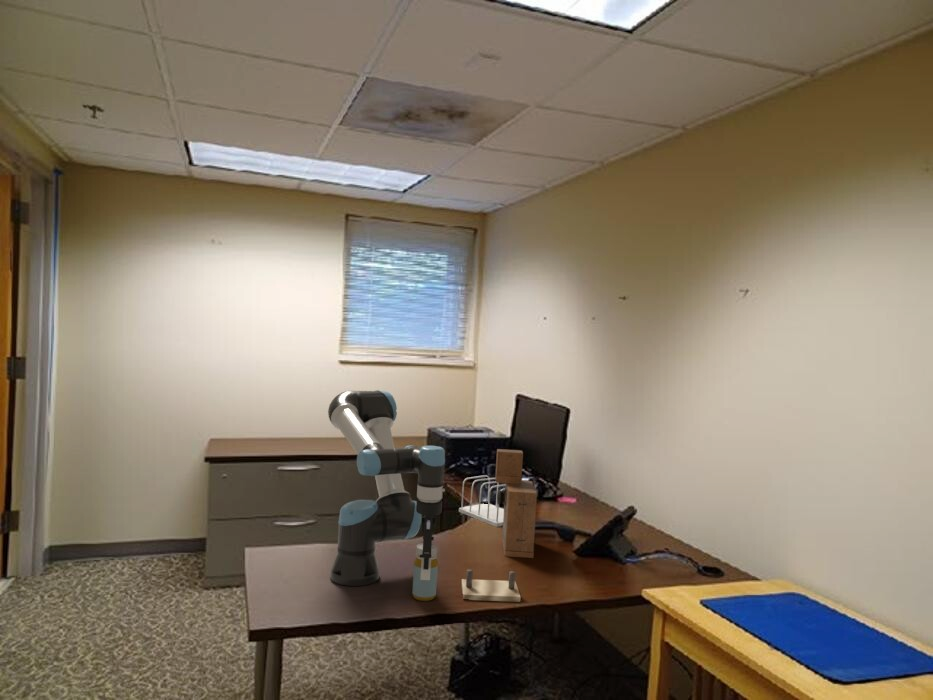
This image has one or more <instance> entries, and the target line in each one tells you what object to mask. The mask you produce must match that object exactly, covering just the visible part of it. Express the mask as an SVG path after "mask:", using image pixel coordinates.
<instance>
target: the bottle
mask: <svg viewBox="0 0 933 700" xmlns="http://www.w3.org/2000/svg"><path fill="white" fill-rule="evenodd" d="M422 553H423V542H422V543H418V544H416V548H415V558H414V561H413V576H412V577H413V578H412V592H411V593H412V597H413V598H414V599H415V600H417V601H420V602H429V601H432V600H434V599H435V598H436V596H437V584H438V568H439V567H438V565H439V563H438V561H439V560H438V556H437V555H438V546H437V545H436V544H435V543H434V544H433V543H432V546H431V555H432V556H431V570H430V580H420V579H421V561H422V558H420V555H422Z"/></svg>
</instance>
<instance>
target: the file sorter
mask: <svg viewBox="0 0 933 700" xmlns="http://www.w3.org/2000/svg"><path fill="white" fill-rule="evenodd" d="M486 477H487V478H486ZM471 479H475V480H474V481H473V482H472V485H471V491H470V500H469V501H470V502H469V504H470V505H467V506H463V505H464V494H465V493H464V492H465V491H464V490H465V483H466V481H468V480H471ZM491 480H495V477H490V475H488V474H487V475H486V474H485V475H478V476H477V475H476V476H471V477H466V478H464V480H463V481H462V488H461V505H460V506H461V507H459V508H458V512H459V513H461V514H463V515H466V516H468V517H472V518H474V519H476V520H478V521H480V522H483V523H486V524H489V525H491V526H493V527H496V528H499V527H503V518H504V507H500V504H497V493H498V490H499V488H500V487H503V488H501V489H500V490H501V491H502V492H504V490H505V484H506V483H503V484H500V483H497V482H496V480H495V481H491ZM480 481H481V482H482V481H487V482H483V483H482V484H481V485H480V489H479V497H478V498H479V500H478V504H472V503H473V494H474V485H475V483H476V482H480ZM491 484H496V485H492V486H491ZM484 485H488V487H487V489H488V490H487V500H486V501H488V504H484V503H481V501H482V493H483V492H482V491H483V487H484ZM494 488H496V496H495V498H496V499H495V504H492V503H491V502H490V501H491V491H492V490H493V489H494Z"/></svg>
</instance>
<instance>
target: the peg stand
mask: <svg viewBox="0 0 933 700" xmlns="http://www.w3.org/2000/svg"><path fill="white" fill-rule="evenodd" d="M508 573H509V574H508V575H509V576H508V580H499V579H497V580H496V579H494V580H493V579H476V578H475V579H473V576H474V570H473V569H471V568H469V569H466V578H462V579H461V581H460V583H461V593H462V594H463V595H462V600H463V599H469V600H468V601H491V602H493V601H494V602H516V603H518V602H519V603H521V599H522V598H521V594H520V591H519V587H518V585H517V582H516V572H515V571H513V570H510V571H509V572H508Z"/></svg>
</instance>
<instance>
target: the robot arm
mask: <svg viewBox="0 0 933 700" xmlns="http://www.w3.org/2000/svg"><path fill="white" fill-rule="evenodd" d="M396 402H397V401H396V400H395V397H394V396H393V395H392V394H391V393H390V392H388V391H385V390H347V391H343V392H341V393H339V394H337V395H336V396H334V397H333V399H332V400H331V402H330V404H329V407H328V410H327V412H328V413H327V414H328V419H329V421H330V423H331V424H332V426H333V428H335V429H337V430H339V431H341V434H342V435H343V436H344V438H345V439H346V441H348V444H349V445H350V446H351V447H352V448H353V450H354V452H355V454H356V455H357V456H356V467H357V471H358V473H359V474H360V476H361V475H362V476H371V477H375V482H376V488H377V492H378V498H377V499H376V500H374V499H356V500H351V501H349V502H347V503H345V504H344V505H342V507H341V508H340V510H339V517H338V521H337V522H338V530H337V531H338V534H337V535H338V536H337V551H336V555H335V557H334V561H333V562H332V566H331V568H330V575H329V577H330V580H331V581H332V582H334V583H335V584H338V585H342V586H349V587H360V586H361V587H362V586H368V585H371V584H373V583H375V582H377V581H378V580H379V578H380V567H379V563H378V559H377V557H376V551H375V550H376V543H380V542H382V543H384V542H389V541H390V542H391V541H398V540H403V541H404V540H405V539H411V538H414V537H415V536H416V535H417V534H418V533H419V531H420V528H421V535H422V539H423V540H422V543H423V553H422V555H420V558H422V561H421V579H420V580H430V570H431V556H432V555H431V546H432V544H433V542H432V541H434V540H435V539H434V532H435V526H436V518H435V517H433V516H437V515H440V514H442V511H443V501H442V499H443V495H444V494H443V493H444V492H446V489H445V488H443V487H444V479H445V478H444V477H445V464H446V457H445V456H446V455H445V454H446V450H445V449H444V447H442V446H436V445H423V446H421V447H420V446H417V445H406V446H405V447H400V448H395V443H394V438H393V433H392V429H391V428H392V427H393V425H394V422H395V421H396V419H397V414H398V412H397V408H398V406H397V403H396ZM413 473H414V474H415V475H417V487H416V488H417V489H416V498H417V499H416V500H413V499H412V497H411V494H410V493H409V492H408V491H406V490H405V487H404V482H403V478H402V474H413ZM422 515H423V516H422Z"/></svg>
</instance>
